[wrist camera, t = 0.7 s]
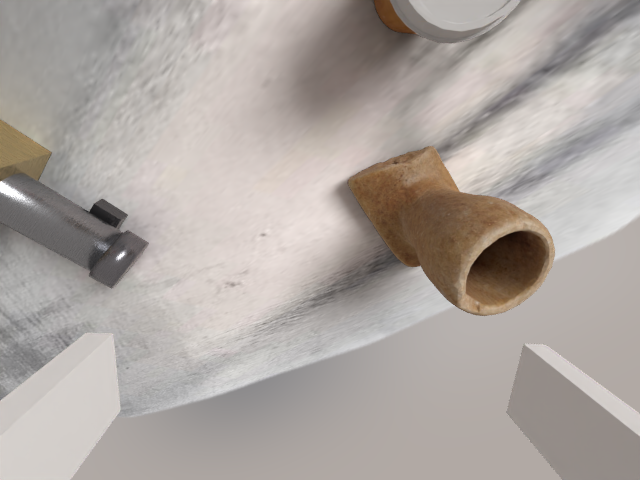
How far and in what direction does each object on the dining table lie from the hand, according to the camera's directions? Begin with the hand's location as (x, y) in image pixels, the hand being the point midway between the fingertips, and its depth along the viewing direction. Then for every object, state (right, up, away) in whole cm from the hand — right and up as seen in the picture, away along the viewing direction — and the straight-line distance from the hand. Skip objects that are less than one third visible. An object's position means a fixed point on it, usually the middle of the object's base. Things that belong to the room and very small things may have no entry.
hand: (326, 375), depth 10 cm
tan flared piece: (+12, +9, +26) cm, 30 cm away
